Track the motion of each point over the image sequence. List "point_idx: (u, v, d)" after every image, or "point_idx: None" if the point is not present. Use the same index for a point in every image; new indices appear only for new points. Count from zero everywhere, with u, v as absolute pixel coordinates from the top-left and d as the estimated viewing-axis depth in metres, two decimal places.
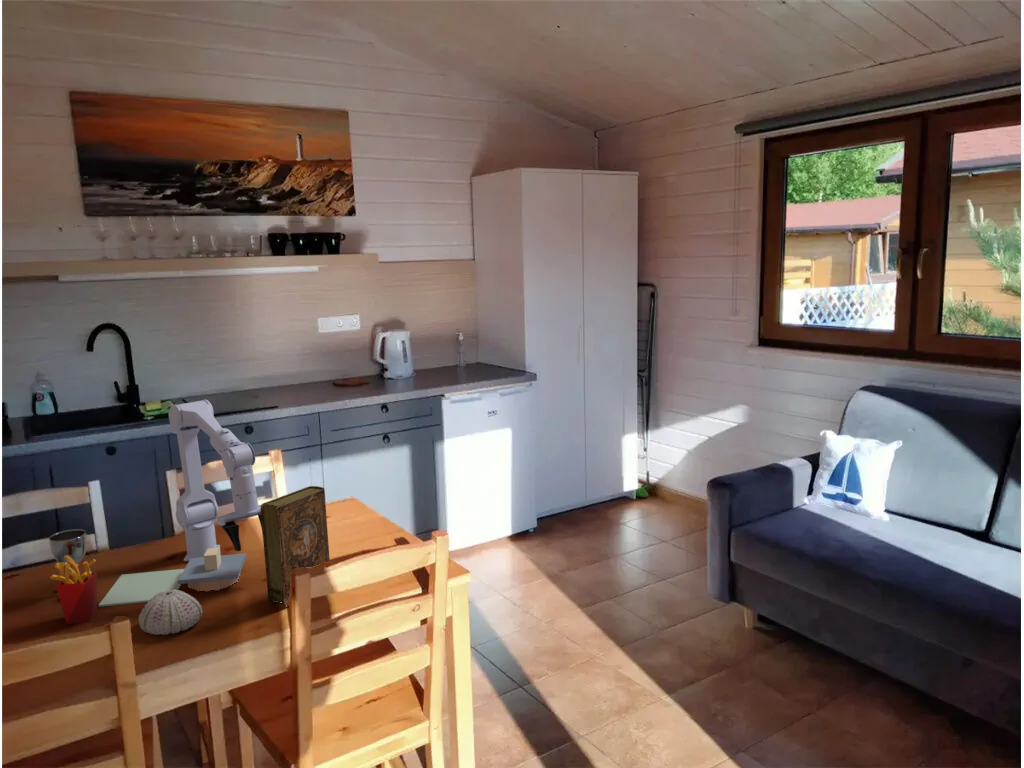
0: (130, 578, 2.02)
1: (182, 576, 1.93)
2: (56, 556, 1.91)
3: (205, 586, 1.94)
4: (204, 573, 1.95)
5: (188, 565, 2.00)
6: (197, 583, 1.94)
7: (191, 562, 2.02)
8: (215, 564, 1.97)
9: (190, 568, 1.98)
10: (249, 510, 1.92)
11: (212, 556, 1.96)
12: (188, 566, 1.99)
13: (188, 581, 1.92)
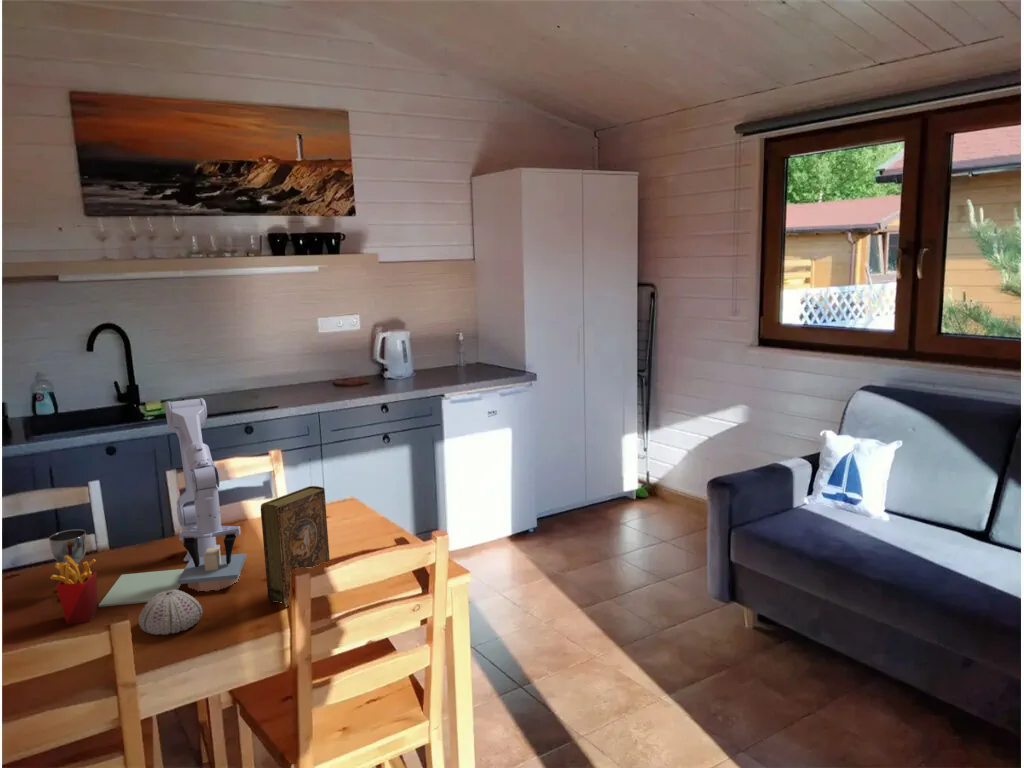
0: (130, 578, 2.02)
1: (182, 576, 1.93)
2: (56, 556, 1.91)
3: (205, 586, 1.94)
4: (204, 573, 1.95)
5: (188, 565, 2.00)
6: (197, 583, 1.94)
7: (191, 562, 2.02)
8: (215, 564, 1.97)
9: (190, 568, 1.98)
10: (205, 532, 1.94)
11: (212, 556, 1.96)
12: (188, 566, 1.99)
13: (188, 581, 1.92)
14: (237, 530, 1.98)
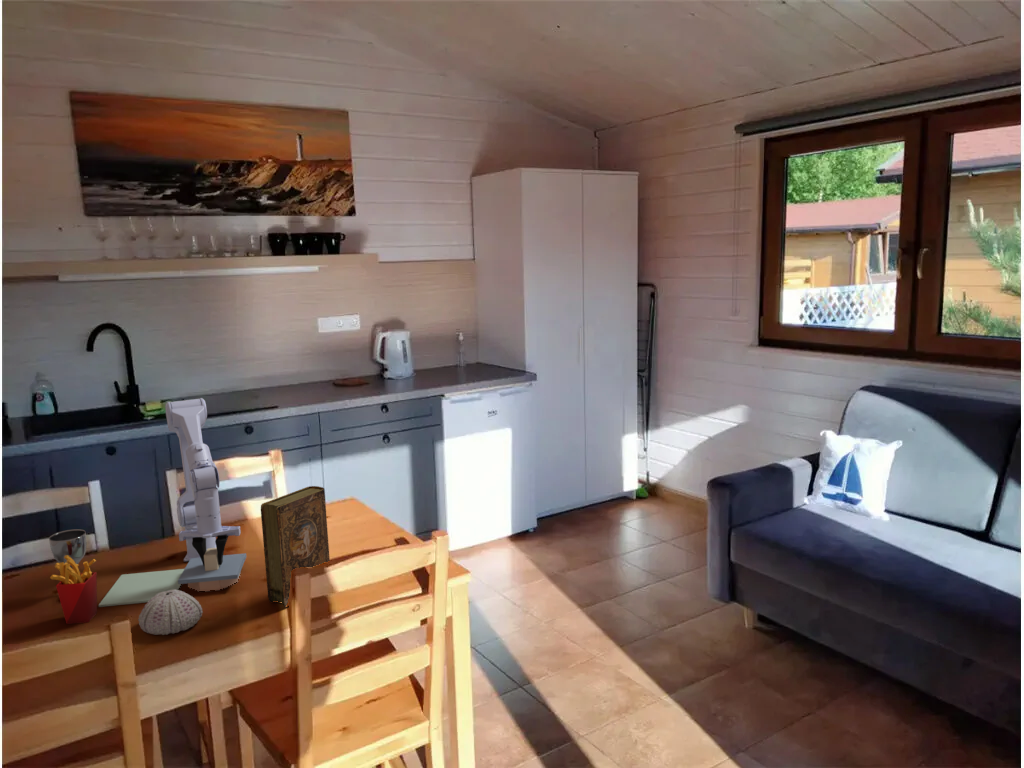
0: (130, 578, 2.02)
1: (182, 576, 1.93)
2: (56, 556, 1.91)
3: (205, 586, 1.94)
4: (204, 573, 1.95)
5: (188, 565, 2.00)
6: (197, 583, 1.94)
7: (191, 562, 2.02)
8: (215, 564, 1.97)
9: (190, 568, 1.98)
10: (205, 532, 1.94)
11: (212, 556, 1.96)
12: (188, 566, 1.99)
13: (188, 581, 1.92)
14: (237, 530, 1.98)
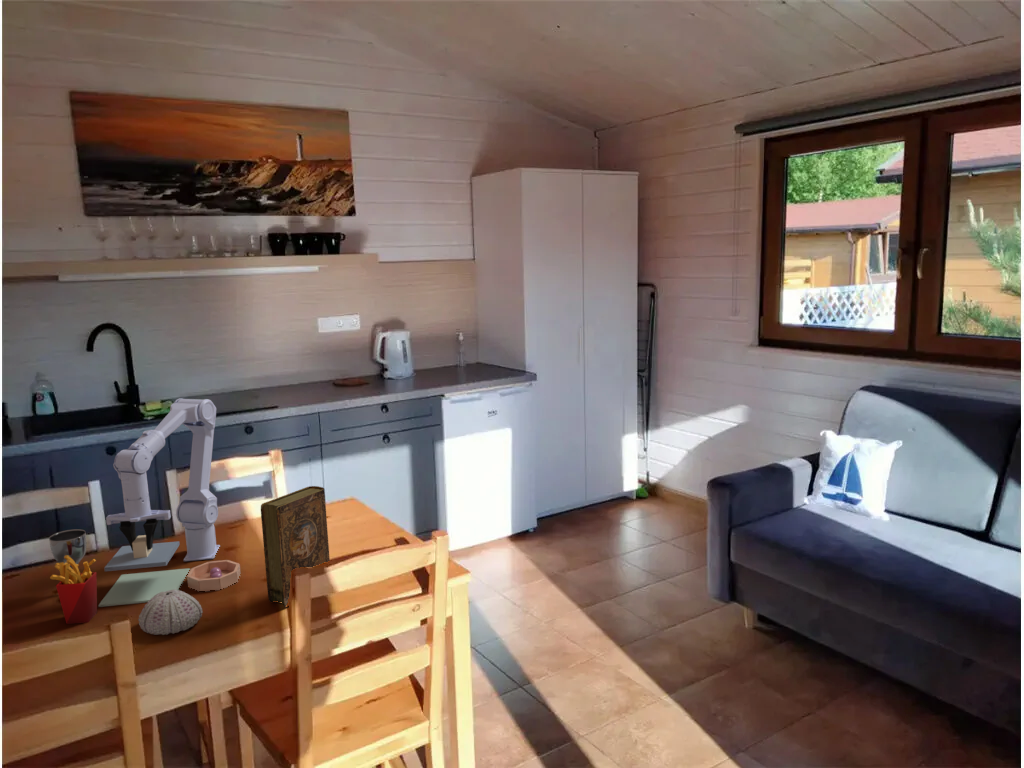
0: (130, 578, 2.02)
1: (109, 563, 1.90)
2: (56, 556, 1.91)
3: (205, 586, 1.94)
4: (132, 561, 1.91)
5: (118, 553, 1.96)
6: (197, 583, 1.94)
7: (121, 550, 1.98)
8: (144, 551, 1.93)
9: (120, 555, 1.95)
10: (132, 516, 1.91)
11: (141, 543, 1.93)
12: (117, 554, 1.96)
13: (115, 568, 1.88)
14: (166, 514, 1.94)
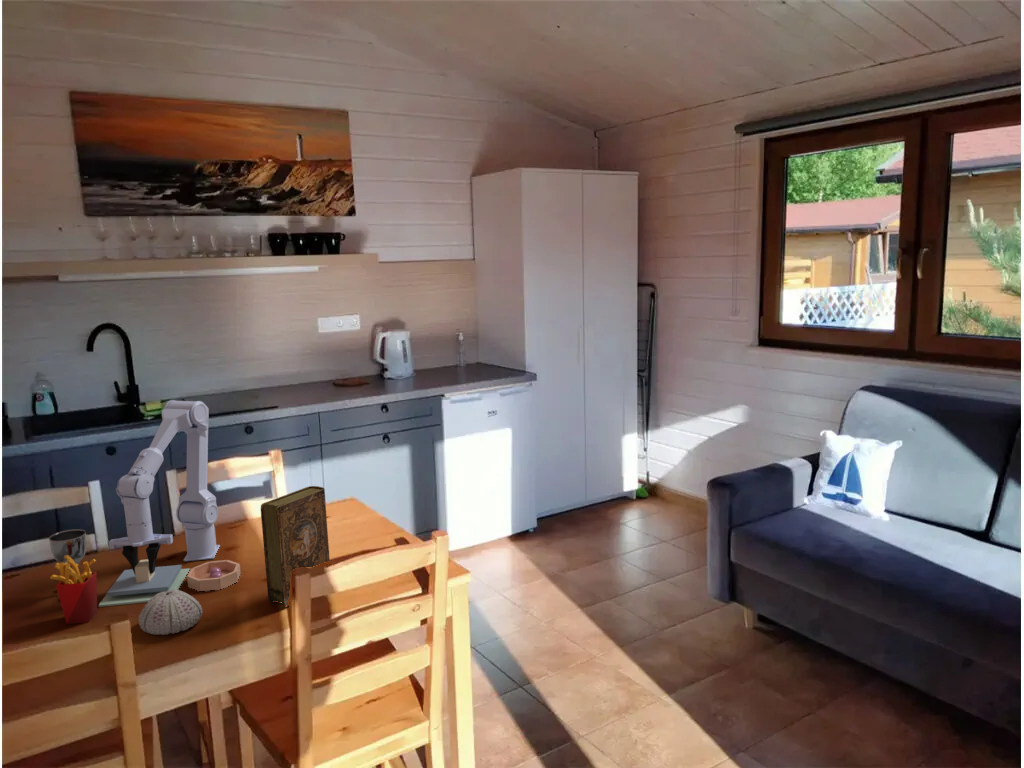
0: None
1: (112, 588, 1.91)
2: (56, 556, 1.91)
3: (205, 586, 1.94)
4: (135, 585, 1.92)
5: (120, 577, 1.98)
6: (197, 583, 1.94)
7: (124, 574, 1.99)
8: (146, 576, 1.94)
9: (122, 579, 1.96)
10: (135, 541, 1.92)
11: (144, 568, 1.94)
12: (120, 578, 1.97)
13: (117, 593, 1.89)
14: (169, 538, 1.95)
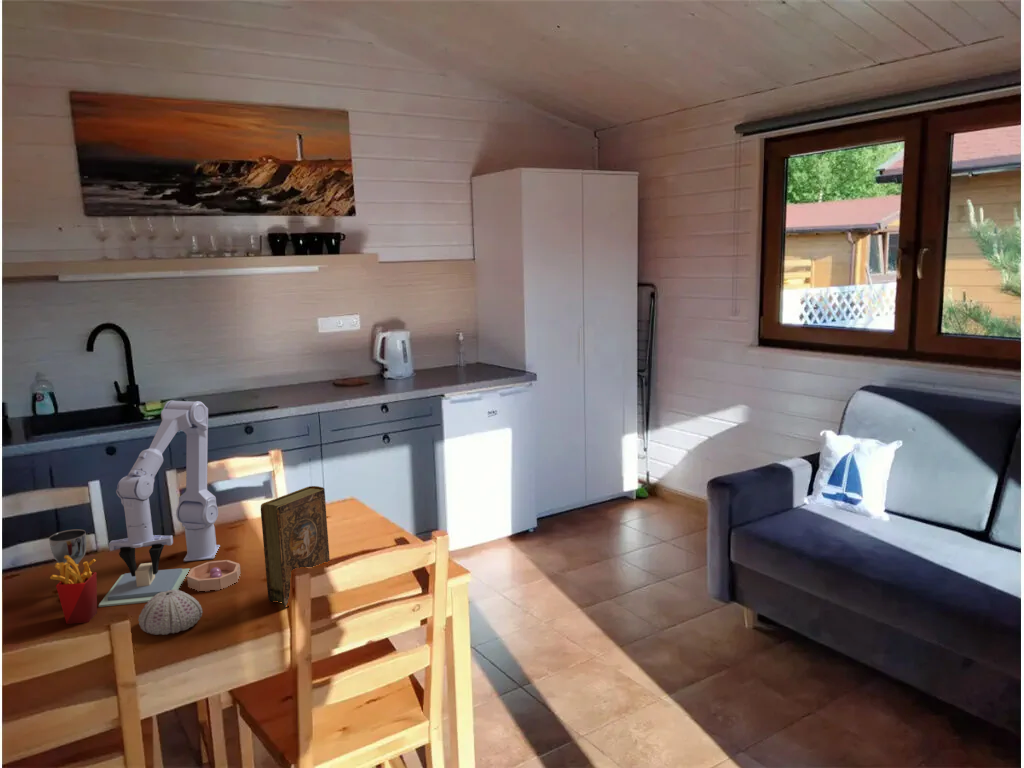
0: None
1: (113, 592, 1.91)
2: (56, 556, 1.91)
3: (205, 586, 1.94)
4: (135, 589, 1.92)
5: (121, 580, 1.98)
6: (197, 583, 1.94)
7: (124, 577, 2.00)
8: (147, 580, 1.94)
9: (123, 583, 1.96)
10: (135, 542, 1.92)
11: (144, 571, 1.94)
12: (121, 582, 1.97)
13: (118, 597, 1.89)
14: (169, 540, 1.95)
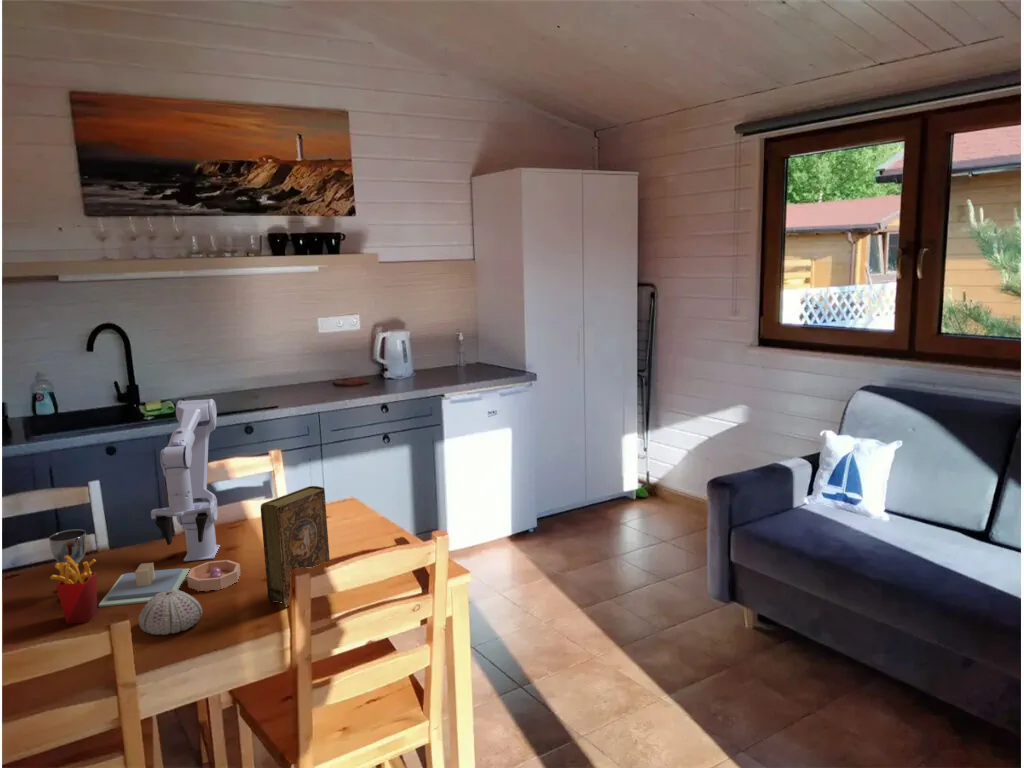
0: None
1: (113, 592, 1.91)
2: (56, 556, 1.91)
3: (205, 586, 1.94)
4: (135, 589, 1.92)
5: (121, 580, 1.98)
6: (197, 583, 1.94)
7: (124, 577, 2.00)
8: (147, 580, 1.94)
9: (123, 583, 1.96)
10: (176, 510, 1.97)
11: (144, 571, 1.94)
12: (121, 582, 1.97)
13: (118, 597, 1.89)
14: (209, 509, 2.00)
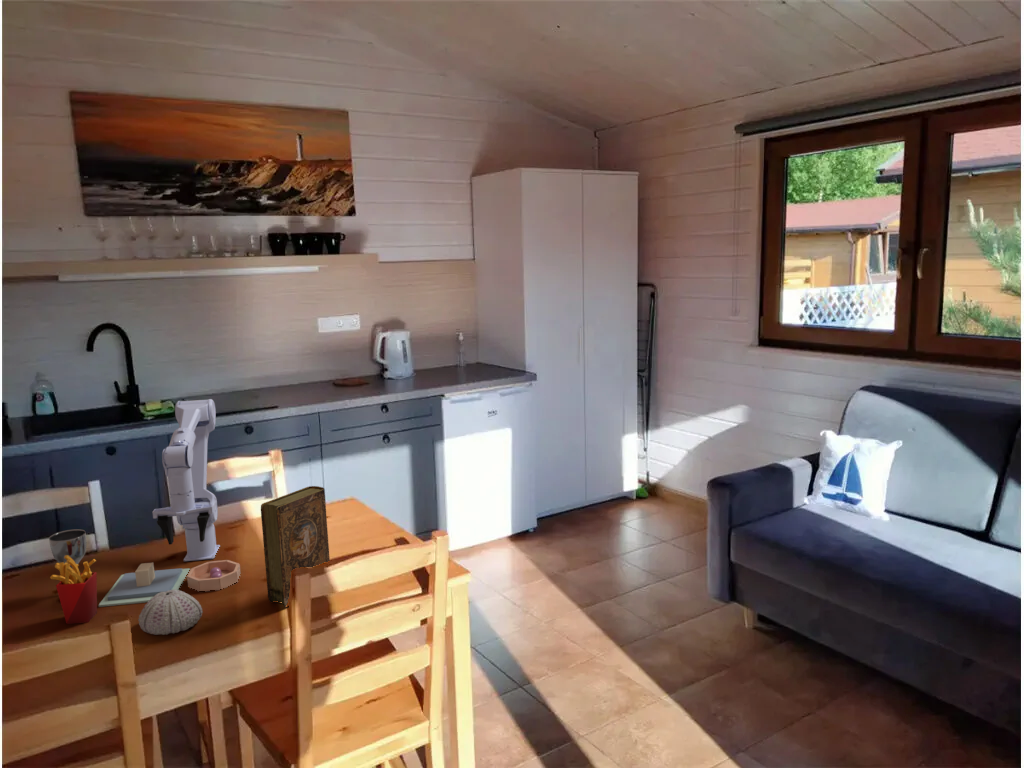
0: None
1: (113, 592, 1.91)
2: (56, 556, 1.91)
3: (205, 586, 1.94)
4: (135, 589, 1.92)
5: (121, 580, 1.98)
6: (197, 583, 1.94)
7: (124, 577, 2.00)
8: (147, 580, 1.94)
9: (123, 583, 1.96)
10: (178, 510, 1.97)
11: (144, 571, 1.94)
12: (121, 582, 1.97)
13: (118, 597, 1.89)
14: (210, 508, 2.00)
